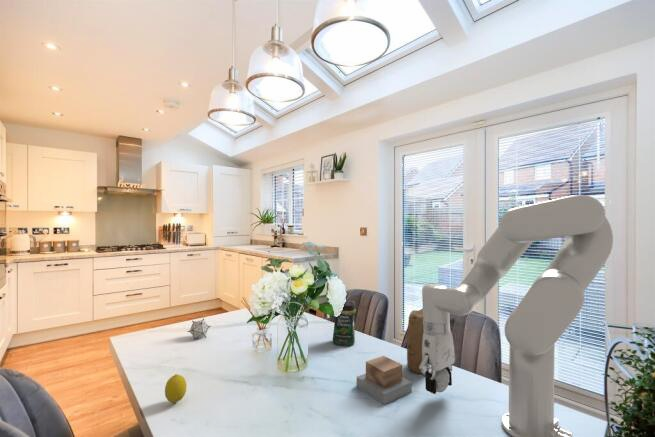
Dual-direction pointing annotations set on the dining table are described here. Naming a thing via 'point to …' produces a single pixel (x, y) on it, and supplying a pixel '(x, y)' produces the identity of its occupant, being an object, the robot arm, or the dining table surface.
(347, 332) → the coffee jar
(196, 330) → the grey spiky faceted part
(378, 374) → the walnut block
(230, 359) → the dining table surface
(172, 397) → the lemon
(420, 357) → the block
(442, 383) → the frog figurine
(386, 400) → the slate plinth
